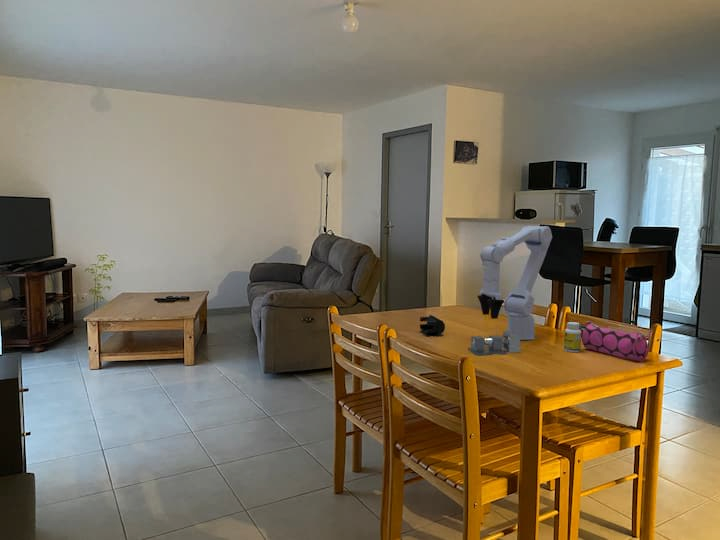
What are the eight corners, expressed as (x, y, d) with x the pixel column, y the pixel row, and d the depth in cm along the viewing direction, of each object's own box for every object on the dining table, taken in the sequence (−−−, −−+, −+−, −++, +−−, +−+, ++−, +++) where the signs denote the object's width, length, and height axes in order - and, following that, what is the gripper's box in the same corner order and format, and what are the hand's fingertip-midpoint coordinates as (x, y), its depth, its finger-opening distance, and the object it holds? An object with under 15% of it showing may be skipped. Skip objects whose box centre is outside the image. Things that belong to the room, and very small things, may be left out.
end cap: (445, 336, 210) (445, 319, 209) (427, 337, 209) (427, 319, 208) (436, 330, 220) (436, 314, 219) (419, 331, 218) (419, 315, 218)
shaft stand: (511, 347, 193) (512, 333, 192) (522, 353, 185) (522, 338, 184) (468, 349, 190) (468, 334, 189) (477, 355, 182) (477, 340, 181)
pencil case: (576, 350, 191) (577, 322, 190) (593, 346, 196) (594, 319, 195) (635, 364, 173) (637, 333, 172) (652, 360, 178) (654, 330, 177)
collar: (513, 349, 191) (513, 331, 190) (519, 352, 186) (520, 334, 186) (502, 349, 190) (503, 331, 190) (509, 353, 186) (509, 334, 185)
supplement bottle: (560, 349, 191) (561, 321, 190) (573, 348, 193) (574, 321, 192) (571, 353, 186) (572, 325, 185) (584, 351, 188) (585, 324, 187)
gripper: (473, 277, 203) (471, 313, 205) (489, 282, 189) (487, 320, 191) (490, 277, 205) (489, 312, 206) (508, 281, 191) (506, 320, 192)
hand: (489, 316), depth 198 cm, fingers open, 7 cm apart
